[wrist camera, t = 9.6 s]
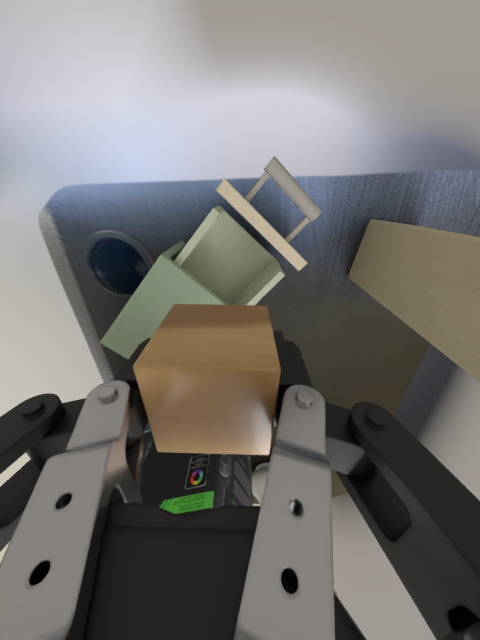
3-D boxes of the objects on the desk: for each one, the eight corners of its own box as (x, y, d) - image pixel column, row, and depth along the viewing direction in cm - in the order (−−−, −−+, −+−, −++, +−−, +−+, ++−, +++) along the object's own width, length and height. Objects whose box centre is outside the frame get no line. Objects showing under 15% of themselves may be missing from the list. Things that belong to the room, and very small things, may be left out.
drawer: (255, 145, 24) (259, 129, 18) (322, 221, 27) (343, 228, 22) (166, 268, 31) (147, 285, 25) (229, 316, 34) (225, 341, 28)
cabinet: (181, 239, 30) (160, 254, 22) (250, 297, 34) (252, 326, 26) (130, 311, 35) (99, 342, 28) (194, 354, 39) (182, 391, 32)
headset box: (229, 348, 38) (206, 565, 16) (251, 395, 44) (258, 606, 21) (120, 380, 43) (-21, 587, 20) (153, 418, 48) (70, 616, 25)
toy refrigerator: (395, 285, 32) (594, 402, 14) (346, 278, 32) (484, 389, 14) (424, 226, 28) (754, 281, 10) (369, 218, 28) (605, 258, 10)
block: (173, 303, 10) (130, 366, 6) (268, 304, 10) (281, 369, 6) (183, 374, 12) (156, 453, 9) (262, 375, 12) (269, 456, 9)
